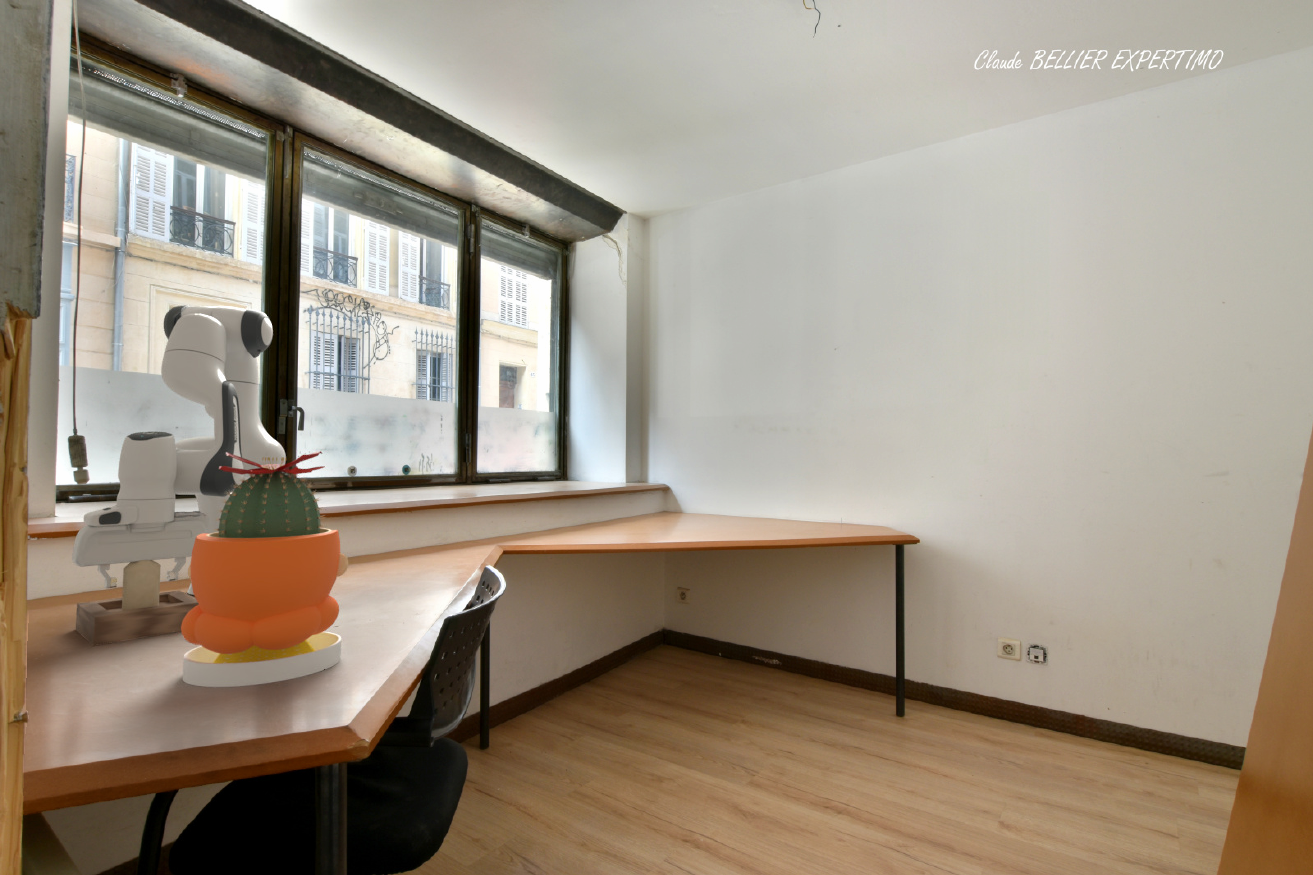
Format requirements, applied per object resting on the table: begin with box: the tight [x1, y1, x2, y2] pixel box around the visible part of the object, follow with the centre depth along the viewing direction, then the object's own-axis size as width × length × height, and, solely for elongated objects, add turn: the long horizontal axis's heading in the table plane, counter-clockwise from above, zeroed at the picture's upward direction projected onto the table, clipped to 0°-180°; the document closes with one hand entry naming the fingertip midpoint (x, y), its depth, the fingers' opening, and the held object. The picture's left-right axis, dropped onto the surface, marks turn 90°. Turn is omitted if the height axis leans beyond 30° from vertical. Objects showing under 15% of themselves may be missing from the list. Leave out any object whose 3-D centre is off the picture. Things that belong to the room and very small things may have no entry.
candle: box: [121, 560, 161, 611], centre depth 117 cm, size 6×6×10 cm
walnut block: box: [75, 590, 199, 647], centre depth 117 cm, size 16×16×6 cm
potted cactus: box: [180, 451, 349, 688], centre depth 95 cm, size 22×22×35 cm
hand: (142, 583), depth 117 cm, fingers open, 8 cm apart
